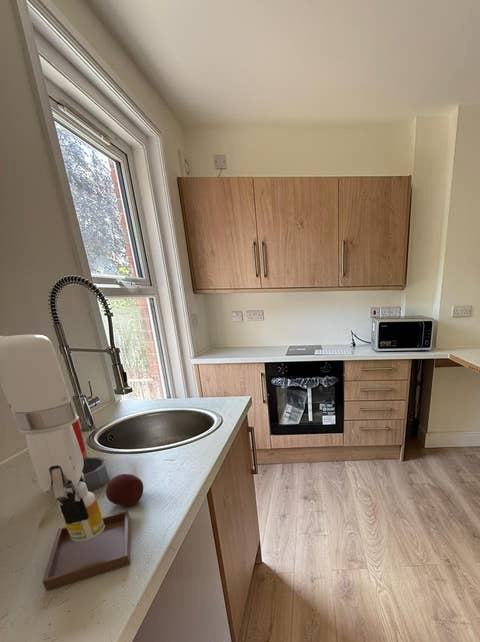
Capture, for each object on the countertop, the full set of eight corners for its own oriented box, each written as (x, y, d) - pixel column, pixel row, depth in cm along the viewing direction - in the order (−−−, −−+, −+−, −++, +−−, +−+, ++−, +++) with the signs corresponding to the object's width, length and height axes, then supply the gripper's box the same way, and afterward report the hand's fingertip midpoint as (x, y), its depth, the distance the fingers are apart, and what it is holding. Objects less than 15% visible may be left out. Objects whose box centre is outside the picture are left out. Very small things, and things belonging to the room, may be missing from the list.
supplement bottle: (102, 519, 67) (87, 476, 64) (107, 533, 63) (92, 487, 60) (69, 531, 64) (51, 486, 60) (72, 546, 60) (54, 499, 57)
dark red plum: (130, 489, 85) (123, 464, 82) (153, 498, 81) (146, 472, 78) (100, 505, 79) (92, 478, 76) (123, 515, 75) (115, 487, 72)
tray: (46, 591, 57) (42, 581, 56) (61, 536, 69) (58, 528, 68) (130, 564, 62) (127, 555, 61) (130, 518, 74) (128, 510, 73)
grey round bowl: (51, 500, 81) (45, 484, 79) (60, 478, 91) (54, 463, 89) (108, 487, 86) (103, 471, 84) (110, 468, 95) (106, 453, 94)
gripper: (29, 405, 60) (62, 494, 67) (-2, 440, 46) (44, 547, 53) (80, 398, 64) (107, 484, 71) (66, 429, 49) (101, 532, 56)
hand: (80, 510), depth 62 cm, fingers closed on supplement bottle, 5 cm apart
